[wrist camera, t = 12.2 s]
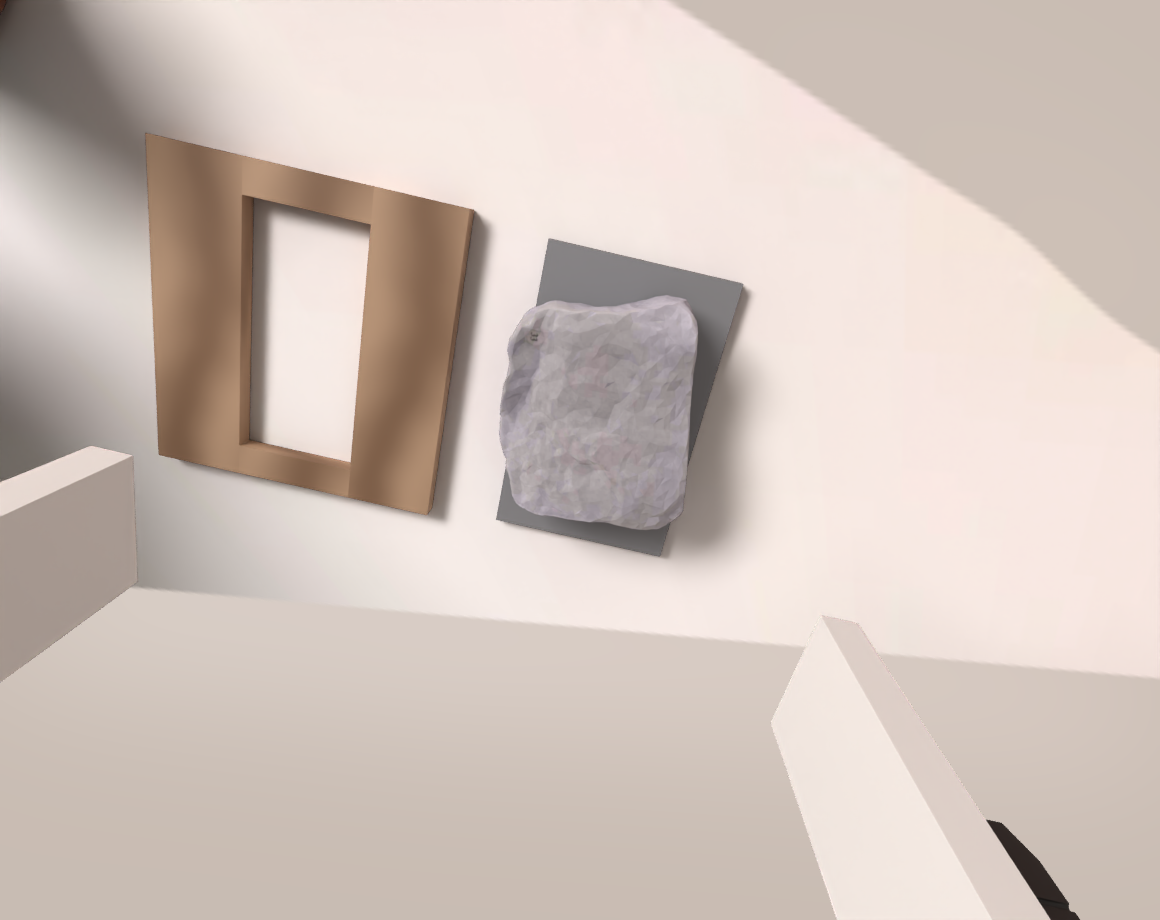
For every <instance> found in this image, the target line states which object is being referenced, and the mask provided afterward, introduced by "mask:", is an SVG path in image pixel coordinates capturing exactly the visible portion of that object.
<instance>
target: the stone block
mask: <svg viewBox="0 0 1160 920" xmlns="http://www.w3.org/2000/svg"><path fill="white" fill-rule="evenodd" d="M697 343H698V327H697V320H696V319H695V316H694V313H693V310H692V307H691V306H690V305H689V303H688V301H687V300H686V299H683V298H679V297H672V296H669V295H664V296H657V297H652V298H650V299H647V300H641V301H637V302H631V303H626V304H622V305H618V306H603V307H596V306H591V305H587V304H583V303H568V302H564V301H557V300H554V301H549V302H546V303H545V304H543V305H540V306H536V307H534V308H532V309H530V310H529V311H528V312H526V313H525V314H524V316H523V318H522V319H521V321H520V322H519V324H518V325H517V327H516V329H515V331H514V333H513V335H512V336H511V337H510V339H509V343H508V349H507V351H508V356H509V367H508V373H507V377H506V380H505V383H504V386H503V393H502V399H501V405H500V415H501V418H500V429H499V435H500V442H501V446H502V450H503V453H504V456H505V457H506V469H507V471H508V474H509V478H510V485H511V490H512V496H513V498H514V500H515V502H516V504H518V505H519V506H520V507H522V508H525V509H526V510H527V511H530V512H532V513H534V514H536V515H541V516H554V517H558V518H564V519H568V520H575V521H584V522H606V523H610V524H614V525H618V526H622V527H627V528H631V529H639V530H650V529H659V528H661V527H663V526H665V525H667V524H668V523H669V522H671V521H673V520H675V519H676V518H677V517H678V516H680V515H681V513H682V512H683V504H684V497H685V488H686V478H687V464H688V452H689V430H690V407H691V395H692V386H693V373H694V367H695V362H696V356H697Z"/></svg>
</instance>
